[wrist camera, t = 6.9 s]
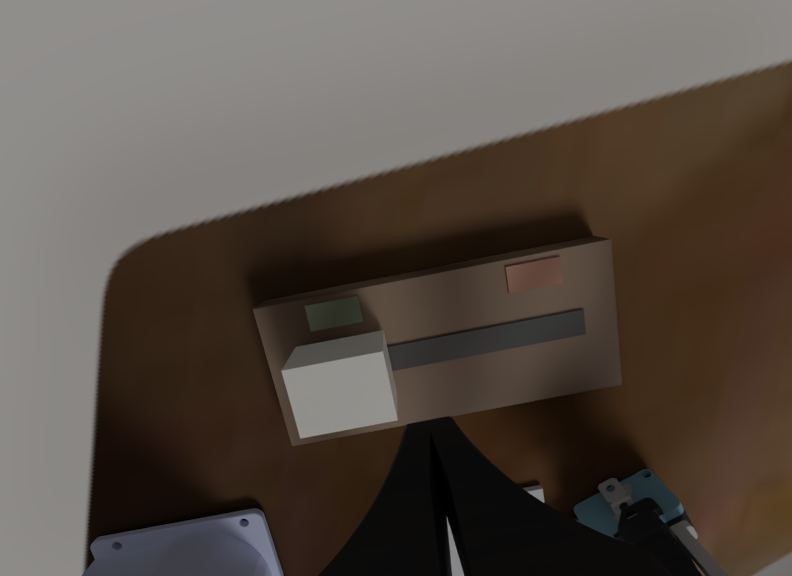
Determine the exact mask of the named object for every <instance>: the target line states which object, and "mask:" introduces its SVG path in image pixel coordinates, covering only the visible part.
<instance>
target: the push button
mask: <svg viewBox="0 0 792 576" xmlns="http://www.w3.org/2000/svg"><path fill="white" fill-rule="evenodd" d="M610 485H613V486H611V487H609V488H607V487H608V486H610ZM606 488H607V489H606ZM598 489H599V491H600V493H598V494H596V495H594V496H592V497H590V498H588V499H586V500H584V501H582V502H580V503H578V504H576V505H575V506H574V512H575V514H576V516H577V517H578V519H579V520H577V522H579V523H582V524H584V525H586V526H588V527H590V528H592V529H594V530H596V531H598V532H601V533H603V534H605V535H608V536H610V537H613V538H615V539H618V540H620V541H623V542H625V543H628V544H631V545H633V546H636V547H638V548H641V549H643V550H646V551H648V552H651V553H652V554H653V555H654V556H655V557H656V558H657V559H658V560H659V561H660V562H661V563H662V564H663V565H664V567H665V568H666V569H667V570H668V571H669V572H670V573H671V574H672V575H673V576H702V575H701V573H700V572H699V571H698V570H697V568H696V566H695V564H694V562H695V563H696V564H697V565H698V567H699V568H700V569H701V570H702V571H703V573H704V574H705V575H706V576H728V574H727V573H726V572H725V571H724V570H723V569H722V568H721V567H720V566H719V564H718V563H717V562H716V561H715V560H714V559H713V558H712V557H711V556H710V554H709V553H708V552H707V551H706V550H705V549H704V548H703V547H702V546H701V544H700V543H699V542H698V541H697V540H696V539H697V537H698V536H697V533H696V530H695V528H694V527H693V525H692V523H691V521H690V519H689V517H688V515H687V514H686V512H685V510H684V508H683V507H682V505H681V503H680V501H679V499H678V498H677V497H676V496H675V495H674V494H673V493H672V492H671V491H670V490H669V489H668V488H667V487H666V486H665V484H664V483H663V482H662V481H661V480H660V479H659V478H658V477H657V476H656V475H655V474H654V473H653V472H652V471H651V470H649V469H643V470H641V471H639V472H637V473H636V474H634V475H632V476H630V477H628V478H627V479H625V480H623V481H621V482H618V481H617V479H615V478H610V479H608V480H606V481H604V482H603V483H601V484H599V486H598ZM691 558H692V559H693V561H694V562H693V561H692V559H691Z"/></svg>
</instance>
